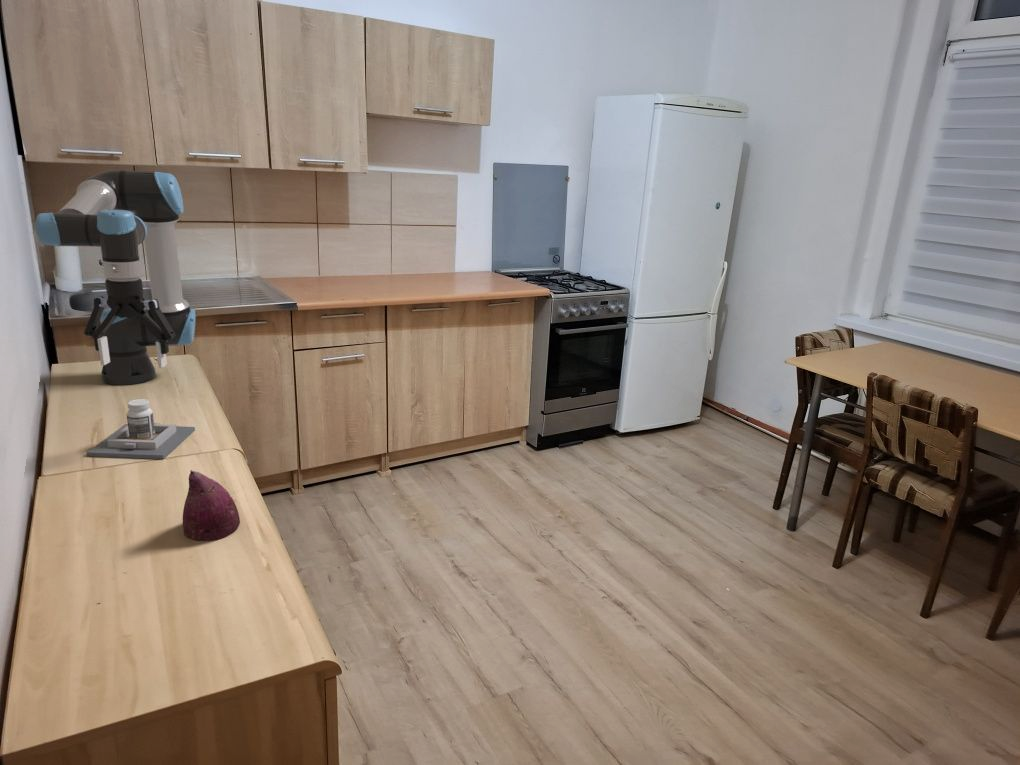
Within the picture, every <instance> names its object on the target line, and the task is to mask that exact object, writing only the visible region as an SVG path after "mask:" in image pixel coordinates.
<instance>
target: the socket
mask: <svg viewBox="0 0 1020 765" xmlns="http://www.w3.org/2000/svg"><path fill="white" fill-rule="evenodd" d="M154 428H155V437H154V438H153V439H152V440H132V439H130V437H129V430H128V423H125V424H124V425H122V426H121V427H119V428H118V429H117V430H116V431H114V432H113V433H111V434H110V435H109V436H107V437H106V438H104V439H103V440H102V441H100V442H99V443H98V444H96V445H95V446H93V447H92V448H90V449H89V450H88V451H86V456H87V457H99V458H101V457H103V458H126V459H127V458H128V459H130V458H131V459H150V460H151V459H153V460H165V459H166V458H167V457H168V456H169V455H171V454H172V452H174V451H175V450H176V449H178V447H179V446H180V445H181V444H182V443H183V442H184V441H185V440H187V439H188V437H190V436H191V435H192V434H193V433H194V432H195V431H196V427H195V426H182V425H181V426H179V425H176V424H166V423H165V424H162V423H161V422H160V423H159V422H158V423H155V422H154Z"/></svg>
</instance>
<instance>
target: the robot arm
mask: <svg viewBox="0 0 1020 765" xmlns="http://www.w3.org/2000/svg"><path fill="white" fill-rule="evenodd" d="M183 202H184V199H183V196H182V192H181V187H180V185H179V183H178V180H177V178H176V177H175V175H173V174H172V173H170V172H169V173H168V172H160V171H151V170H150V171H148V170H147V171H144V170H123V169H113V170H107V171H106V170H105V171H103V172H99V173H96V174H94V175H92V176H90V177H88V178H86V179H85V180H83V181H82V182H81V183H79V185H78V186H77V188H76V193H75V195H74V196H73V197H72V198H70V200H69V201H68V202H67V203H66V204H64V206H62V207H61V209H59V210H58V212H56V213H55V212H43V213H39V214H37V216H36V218H35V221H34V222H35V223H34V224H35V225H34V226H35V233H36V236H37V238H38V240H39V242H40V243H41V244H42V245H44V246H55V247H98V248H100V252H101V258H102V259H101V260H102V267H103V274H104V278H106V280H105V281H104V282H105V291H106V295H107V298H106V297H104V296H103V295H100V296H98V297H95V298H93V309H92V311H91V314H90V316H89V318H88V322H87V323H86V324H87V325H86V327H85V329H84V332H83V333H84V335H85V336H90V337H91V338H93V340H94V348H95V350H96V351H97V352H98V353H99V360H100V365H101V366H102V368H101V376H100V377H101V381H102V383H105V384H109V385H115V386H120V385H121V386H122V385H123V386H124V385H126V386H127V385H135V384H141V383H145V382H149V381H151V380H153V379H154V378H156V376H157V374H156V373H157V372H156V368H155V366H154V364H153V362H152V360H151V358H150V356H149V354H148V348H147V347H156V348H155V349H156V356H157V357H156V358H157V366H158V368H159V369H162V368H164V367H166V366H167V365H168V363H167V354H168V353H169V352H170V350H169V346H172V347H174V346H176V347H178V346H189V345H191V344H192V343H193V342H194V339H195V330H196V318H197V316H196V315H197V314H196V310H195V309H193V308H190V303H189V301H187V300H185V298H184V294H183V288H182V280H181V279H182V278H181V270H180V263H179V256H178V255H179V254H178V246H177V245H178V244H177V238H176V229H175V224H176V223H177V222H178V221H179V220H180V216H179V215H182V214H184V203H183ZM143 243H144V248H145V249H144V250H145V256H146V263H147V269H148V270H147V271H148V277H149V283H150V292H151V298H152V299H151V300H145V298H144V286H143V279H141V277H142V270H141V268H142V267H141V261H140V256H139V245H141V244H143ZM106 306H108V307H109V308H106V309H105V307H106ZM145 307H146V308H147V309H145ZM99 322H100V325H99ZM98 325H99V326H98Z"/></svg>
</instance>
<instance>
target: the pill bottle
mask: <svg viewBox="0 0 1020 765" xmlns="http://www.w3.org/2000/svg"><path fill="white" fill-rule="evenodd" d="M127 408H128V410H127V412H126V421H127V424H128V430H129V437H130V439H132V440H152V439H153V438H154V437H155V428H154V423H155V420H154V412H153V410H152V409H151V408H150V400H148V399H145V398H137V399H133V400H129V401H128V402H127Z"/></svg>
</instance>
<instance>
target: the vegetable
mask: <svg viewBox="0 0 1020 765" xmlns="http://www.w3.org/2000/svg"><path fill="white" fill-rule="evenodd" d="M187 490H188V491H187V495H186V497H185V501H184V505H183V509H182V527H183V536H185V537H186V538H188V539H190V540H194V541H197V542H206V541H215V540H221V539H223V538H226V537H228V536H230V535H232V534H233V533H236V531H237V530H238V528H239V526H240V524H241V519H240V514H239V511H238V507H237V505H236V502H235V500H234V499H233V497H232V496H231V494H230V493H229V491H228V490H227V489H226V488H224V487H223V485H221V484H220V483H219V482H217V481H216V480H214V479H213V478H210V477H208V476H206V475H205V474H203V473H201V472H200V471H195V470H192V469H190V473H189V475H188V489H187Z"/></svg>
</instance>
